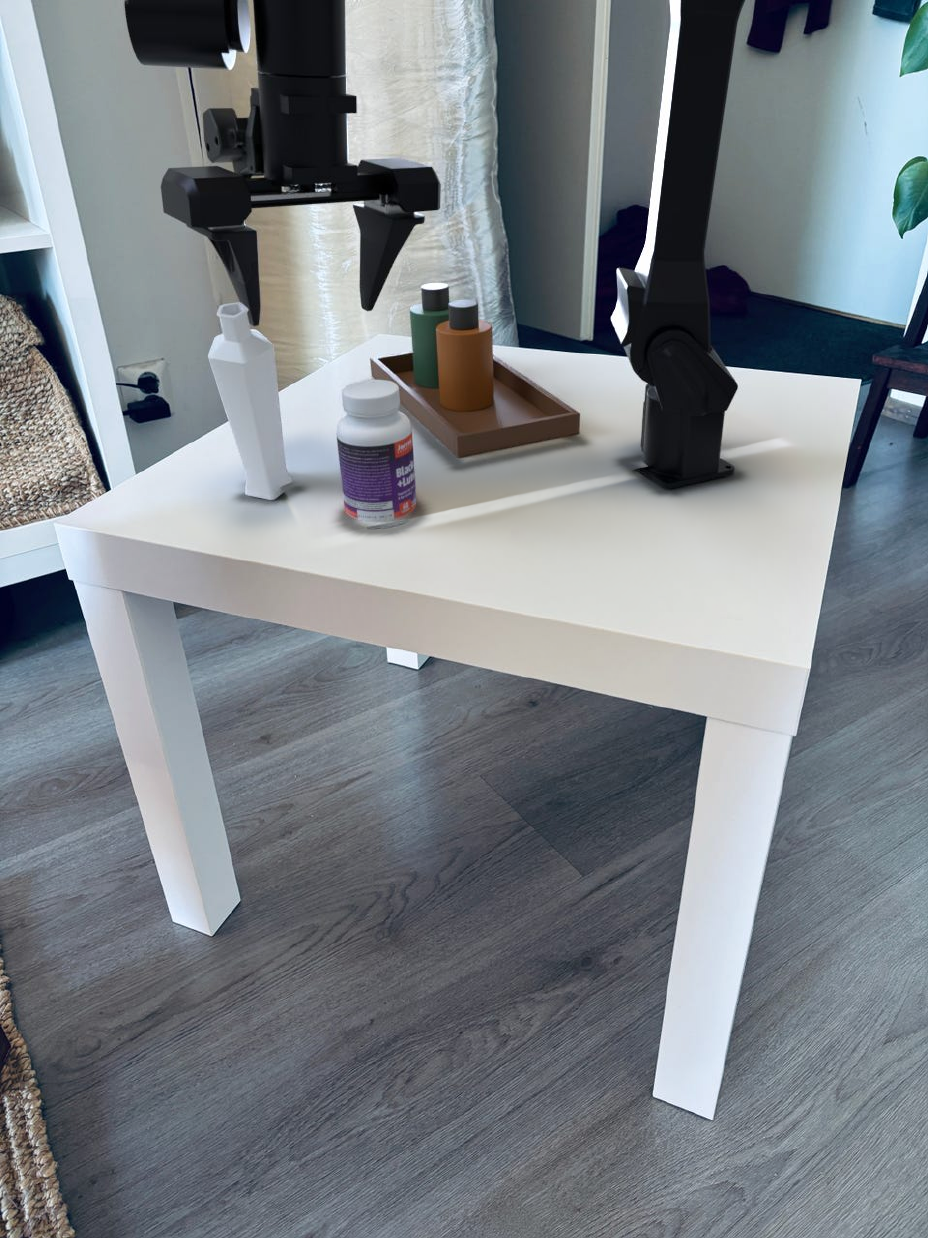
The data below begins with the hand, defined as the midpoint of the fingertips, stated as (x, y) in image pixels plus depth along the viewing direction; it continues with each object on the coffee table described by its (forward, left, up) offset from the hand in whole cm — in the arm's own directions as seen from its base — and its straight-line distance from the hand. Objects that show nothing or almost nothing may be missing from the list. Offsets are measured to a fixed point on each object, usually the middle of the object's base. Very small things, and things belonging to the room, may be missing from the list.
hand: (312, 316), depth 71 cm
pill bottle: (-8, -2, -13) cm, 15 cm away
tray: (+9, -16, -13) cm, 22 cm away
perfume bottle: (0, +5, -13) cm, 14 cm away
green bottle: (+16, -16, -12) cm, 26 cm away
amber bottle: (+9, -16, -12) cm, 22 cm away
